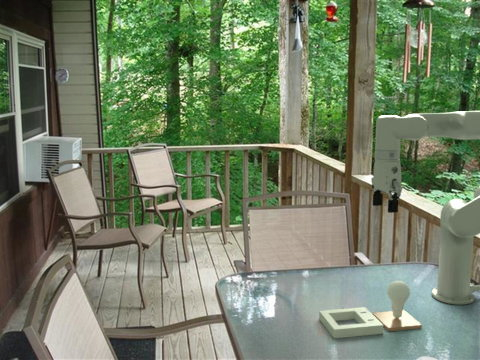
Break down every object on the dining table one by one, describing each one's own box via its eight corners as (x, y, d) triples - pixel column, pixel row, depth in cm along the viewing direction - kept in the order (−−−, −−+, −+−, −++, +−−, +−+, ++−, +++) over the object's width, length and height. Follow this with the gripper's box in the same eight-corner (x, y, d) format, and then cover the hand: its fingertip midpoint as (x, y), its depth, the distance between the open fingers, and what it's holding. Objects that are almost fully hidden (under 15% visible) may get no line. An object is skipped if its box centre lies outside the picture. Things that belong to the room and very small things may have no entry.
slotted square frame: (364, 315, 153) (364, 306, 153) (382, 333, 141) (383, 324, 141) (319, 319, 150) (319, 310, 150) (334, 338, 139) (334, 329, 138)
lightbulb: (411, 318, 149) (414, 281, 147) (401, 324, 144) (404, 287, 142) (392, 311, 153) (394, 276, 151) (381, 318, 148) (384, 281, 147)
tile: (403, 313, 154) (404, 309, 154) (421, 328, 145) (421, 324, 144) (372, 315, 152) (372, 312, 152) (388, 331, 143) (388, 327, 143)
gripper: (413, 158, 155) (410, 214, 158) (384, 151, 171) (382, 202, 174) (390, 159, 153) (387, 215, 156) (363, 152, 170) (361, 203, 173)
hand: (384, 208), depth 165 cm, fingers open, 9 cm apart
